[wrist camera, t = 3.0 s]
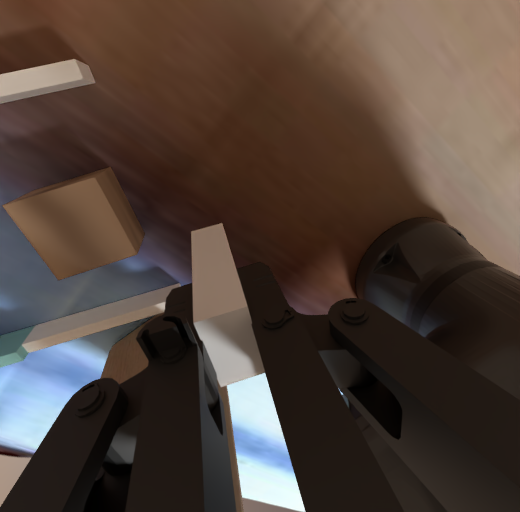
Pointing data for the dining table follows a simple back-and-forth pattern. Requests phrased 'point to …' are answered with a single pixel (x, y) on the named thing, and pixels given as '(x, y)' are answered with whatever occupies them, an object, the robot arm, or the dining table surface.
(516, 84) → the dining table surface
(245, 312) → the robot arm
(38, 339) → the walled lane
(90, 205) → the walnut block
